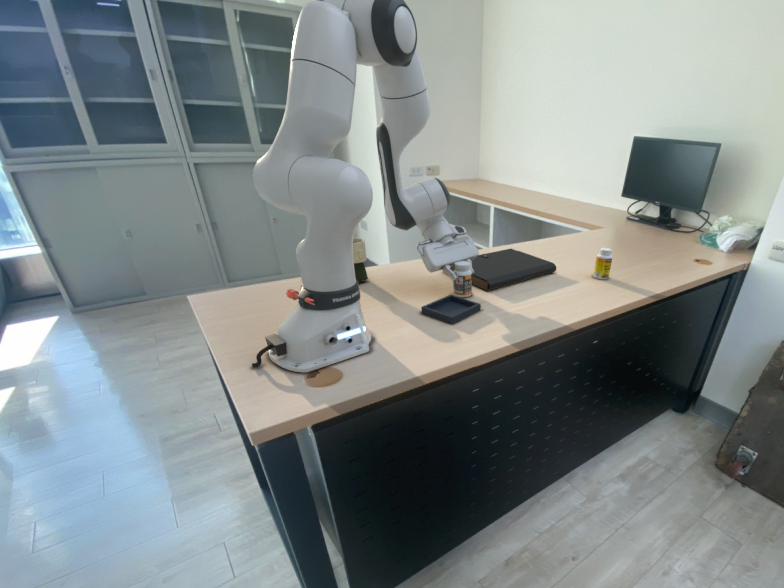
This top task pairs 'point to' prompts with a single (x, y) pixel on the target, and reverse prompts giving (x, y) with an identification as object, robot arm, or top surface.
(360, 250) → the character mug
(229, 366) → the top surface
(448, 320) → the tray
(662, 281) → the top surface
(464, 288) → the pill bottle
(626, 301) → the top surface
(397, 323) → the top surface
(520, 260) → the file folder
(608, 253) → the supplement bottle
